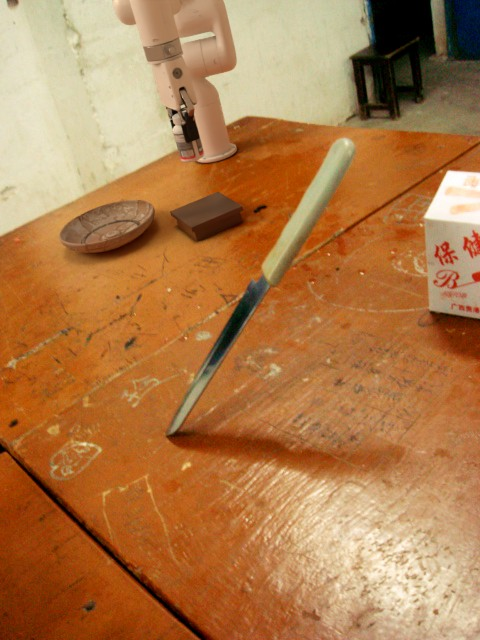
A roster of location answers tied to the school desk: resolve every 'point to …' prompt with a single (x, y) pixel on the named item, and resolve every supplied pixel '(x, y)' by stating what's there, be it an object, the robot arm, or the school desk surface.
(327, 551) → the school desk surface
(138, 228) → the ceramic bowl
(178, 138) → the pill bottle
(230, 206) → the platform
